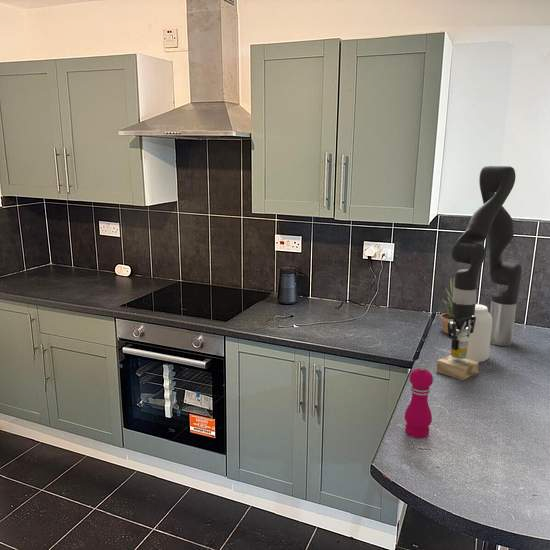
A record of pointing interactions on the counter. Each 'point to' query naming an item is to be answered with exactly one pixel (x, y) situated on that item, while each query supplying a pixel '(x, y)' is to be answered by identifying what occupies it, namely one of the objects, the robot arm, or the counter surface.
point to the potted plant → (448, 316)
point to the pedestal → (457, 367)
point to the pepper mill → (419, 403)
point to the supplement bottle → (461, 346)
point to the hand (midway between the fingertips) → (459, 347)
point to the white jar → (480, 335)
